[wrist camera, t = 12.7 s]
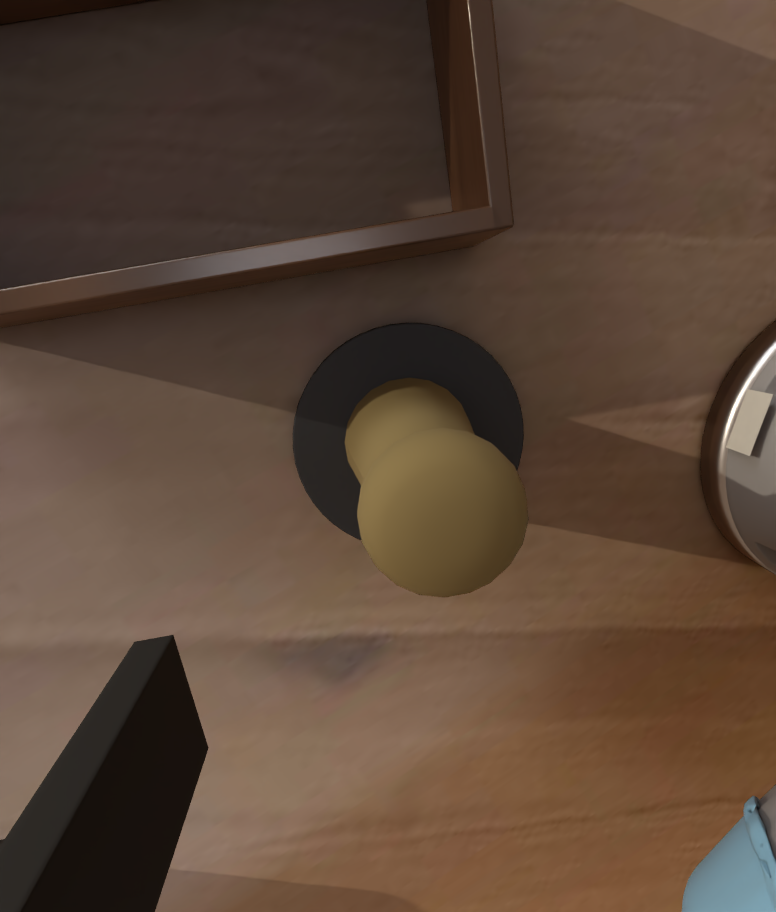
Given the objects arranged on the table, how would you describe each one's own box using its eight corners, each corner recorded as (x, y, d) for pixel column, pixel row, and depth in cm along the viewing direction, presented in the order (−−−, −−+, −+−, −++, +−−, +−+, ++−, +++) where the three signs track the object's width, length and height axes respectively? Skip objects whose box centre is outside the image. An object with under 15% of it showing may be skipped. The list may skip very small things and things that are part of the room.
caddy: (438, -69, 21) (472, -213, 15) (474, 246, 24) (514, 226, 18) (-151, 23, 20) (-347, -89, 15) (-35, 334, 24) (-159, 342, 18)
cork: (490, 400, 25) (592, 465, 15) (446, 515, 27) (512, 651, 16) (366, 360, 24) (382, 399, 14) (328, 482, 26) (316, 602, 15)
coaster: (507, 303, 25) (511, 303, 24) (530, 522, 28) (534, 527, 27) (270, 345, 25) (268, 346, 24) (319, 562, 28) (318, 567, 27)
